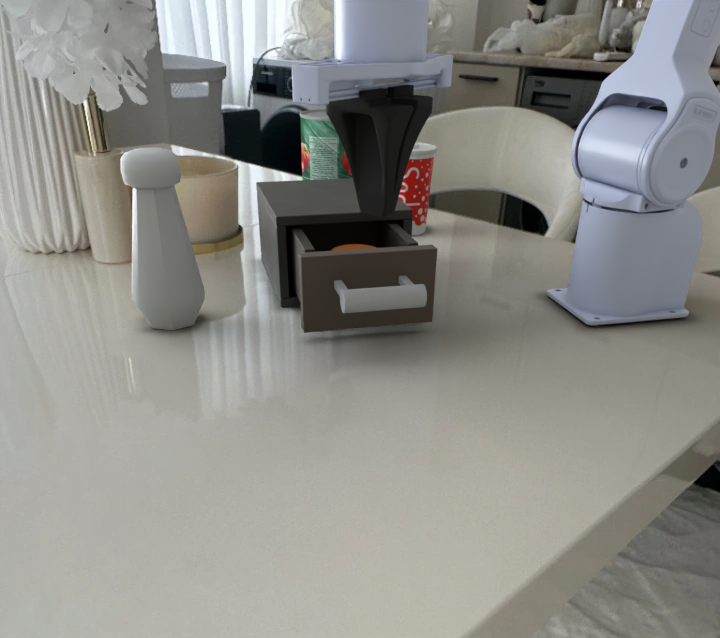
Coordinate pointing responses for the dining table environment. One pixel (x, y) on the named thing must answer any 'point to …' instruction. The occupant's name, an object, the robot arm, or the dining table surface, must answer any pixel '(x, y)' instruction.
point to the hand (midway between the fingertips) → (377, 212)
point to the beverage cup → (418, 184)
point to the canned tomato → (321, 148)
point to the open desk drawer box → (307, 220)
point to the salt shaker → (161, 242)
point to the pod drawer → (360, 275)
